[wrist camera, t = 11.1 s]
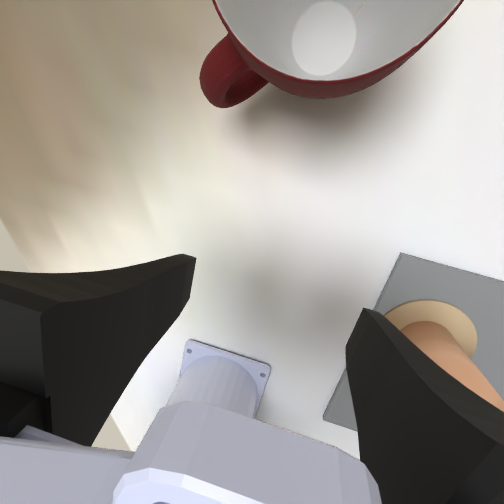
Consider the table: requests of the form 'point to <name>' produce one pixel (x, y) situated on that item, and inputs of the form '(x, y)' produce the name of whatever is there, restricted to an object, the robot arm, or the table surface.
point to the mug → (315, 45)
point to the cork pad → (436, 320)
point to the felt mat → (450, 291)
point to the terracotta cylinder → (451, 358)
